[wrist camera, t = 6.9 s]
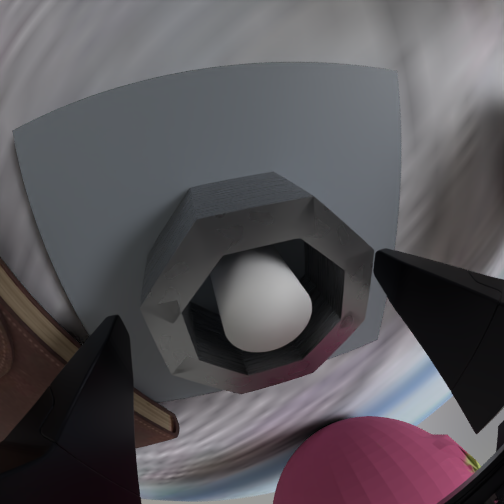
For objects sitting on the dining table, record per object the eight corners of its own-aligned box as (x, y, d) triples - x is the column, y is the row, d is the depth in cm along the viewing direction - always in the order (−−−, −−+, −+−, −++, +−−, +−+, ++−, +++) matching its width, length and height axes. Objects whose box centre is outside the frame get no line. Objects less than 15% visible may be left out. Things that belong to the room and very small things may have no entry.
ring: (325, 163, 9) (378, 185, 7) (325, 310, 13) (358, 355, 10) (131, 201, 8) (113, 240, 6) (182, 348, 11) (188, 405, 9)
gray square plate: (387, 71, 9) (454, 69, 6) (372, 333, 15) (405, 374, 12) (20, 129, 6) (-41, 143, 3) (137, 396, 13) (138, 452, 10)
